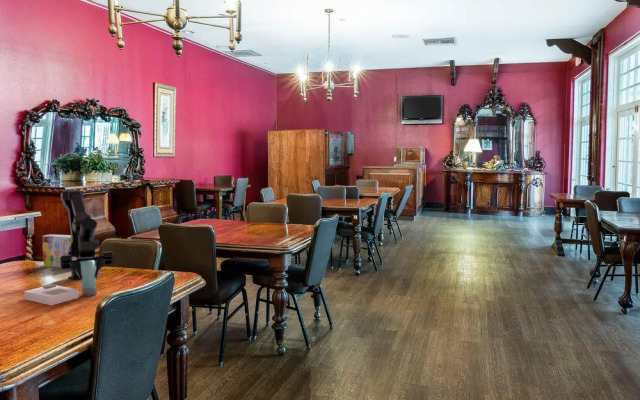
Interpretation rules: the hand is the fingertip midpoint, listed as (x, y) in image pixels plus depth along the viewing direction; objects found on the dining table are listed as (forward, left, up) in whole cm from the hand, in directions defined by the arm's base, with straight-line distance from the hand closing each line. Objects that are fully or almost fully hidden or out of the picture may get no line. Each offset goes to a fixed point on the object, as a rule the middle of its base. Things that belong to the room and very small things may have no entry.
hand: (88, 278), depth 194 cm
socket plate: (-9, -9, -7) cm, 15 cm away
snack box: (-53, +26, -7) cm, 59 cm away
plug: (-1, +1, -7) cm, 7 cm away
